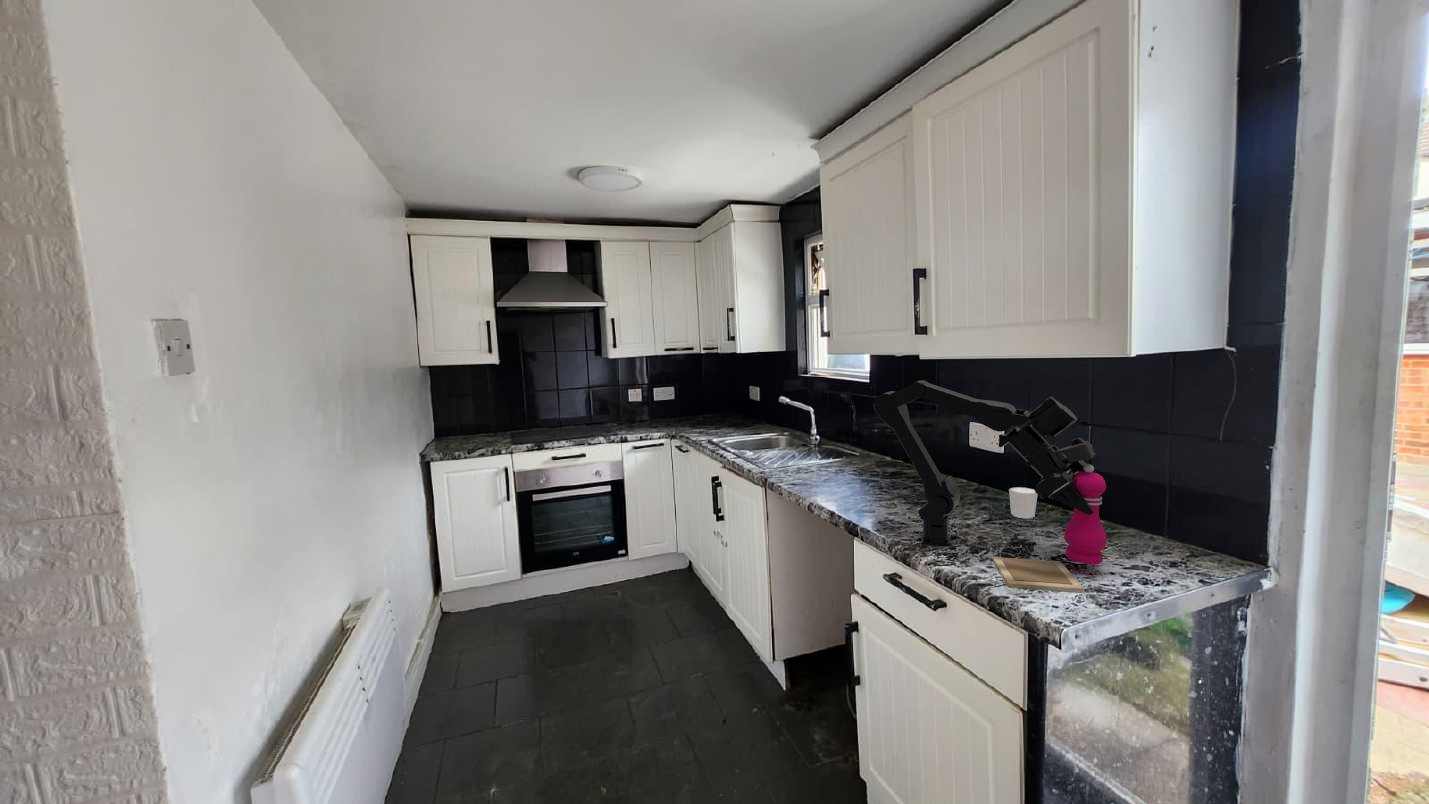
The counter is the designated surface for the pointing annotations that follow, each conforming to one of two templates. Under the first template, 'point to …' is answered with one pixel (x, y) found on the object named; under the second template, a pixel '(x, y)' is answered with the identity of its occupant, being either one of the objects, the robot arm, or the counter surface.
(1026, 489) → the white cup
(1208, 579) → the counter surface
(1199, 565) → the counter surface
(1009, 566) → the beech tray
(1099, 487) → the pepper mill
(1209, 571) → the counter surface
